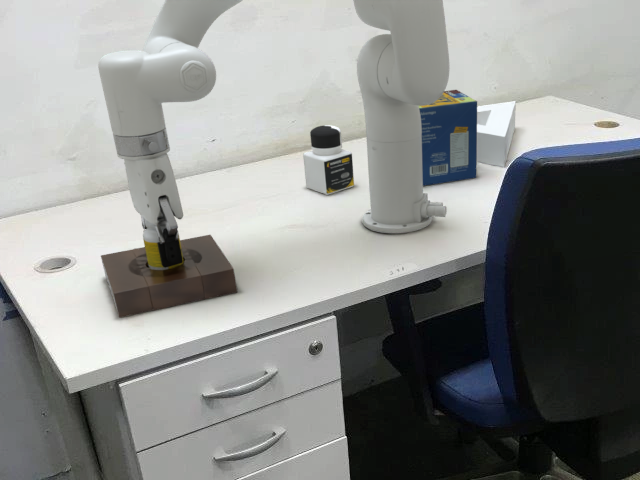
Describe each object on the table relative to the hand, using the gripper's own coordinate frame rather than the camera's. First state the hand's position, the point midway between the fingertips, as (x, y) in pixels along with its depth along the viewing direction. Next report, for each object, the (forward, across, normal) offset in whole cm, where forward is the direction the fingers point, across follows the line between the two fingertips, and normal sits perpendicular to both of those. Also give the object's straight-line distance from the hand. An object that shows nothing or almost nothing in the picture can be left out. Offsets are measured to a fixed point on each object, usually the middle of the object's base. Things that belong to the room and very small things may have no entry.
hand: (165, 257), depth 131 cm
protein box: (+5, +16, -63) cm, 65 cm away
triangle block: (+5, +29, -86) cm, 91 cm away
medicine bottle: (+5, +25, -43) cm, 50 cm away
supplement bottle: (+3, 0, 0) cm, 3 cm away
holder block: (+5, 0, 0) cm, 5 cm away
